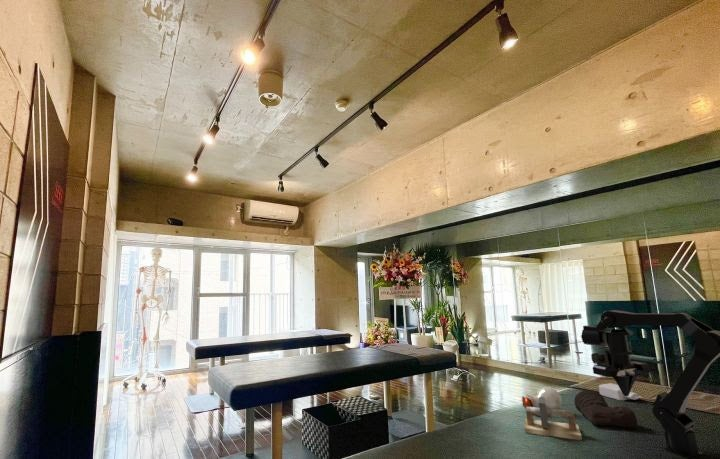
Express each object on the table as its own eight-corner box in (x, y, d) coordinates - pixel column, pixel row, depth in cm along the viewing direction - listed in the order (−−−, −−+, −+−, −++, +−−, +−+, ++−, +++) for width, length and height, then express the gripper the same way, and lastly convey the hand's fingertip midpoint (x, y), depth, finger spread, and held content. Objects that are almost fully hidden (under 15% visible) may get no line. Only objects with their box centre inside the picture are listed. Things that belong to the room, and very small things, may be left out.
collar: (547, 420, 125) (544, 397, 126) (548, 428, 118) (545, 403, 119) (541, 419, 126) (538, 396, 127) (541, 427, 119) (538, 402, 120)
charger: (634, 405, 145) (599, 395, 158) (649, 402, 147) (614, 393, 161) (632, 393, 145) (598, 385, 159) (647, 390, 148) (612, 382, 162)
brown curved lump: (636, 408, 119) (614, 388, 134) (589, 409, 122) (572, 390, 137) (641, 436, 119) (617, 413, 133) (593, 437, 122) (575, 414, 136)
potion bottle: (565, 414, 139) (532, 422, 137) (548, 394, 148) (517, 401, 146) (570, 399, 135) (536, 407, 133) (553, 379, 144) (521, 386, 142)
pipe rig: (578, 429, 121) (575, 407, 123) (581, 440, 112) (578, 416, 114) (525, 422, 129) (523, 401, 130) (525, 432, 120) (522, 410, 121)
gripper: (617, 342, 128) (624, 387, 125) (576, 346, 124) (583, 392, 121) (648, 347, 118) (656, 395, 115) (604, 350, 113) (612, 401, 110)
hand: (626, 395), depth 115 cm, fingers closed
